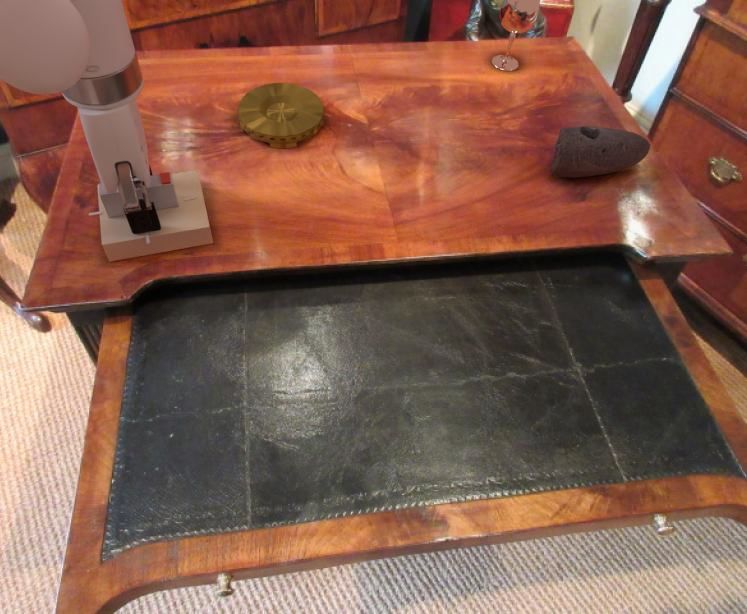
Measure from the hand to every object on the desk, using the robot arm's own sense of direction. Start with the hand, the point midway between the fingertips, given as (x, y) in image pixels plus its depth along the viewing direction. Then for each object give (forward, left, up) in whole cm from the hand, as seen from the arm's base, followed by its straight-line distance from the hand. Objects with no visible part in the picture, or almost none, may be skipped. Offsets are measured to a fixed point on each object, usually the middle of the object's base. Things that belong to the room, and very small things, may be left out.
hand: (143, 205), depth 71 cm
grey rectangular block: (0, 0, 0) cm, 0 cm away
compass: (+20, +16, -3) cm, 26 cm away
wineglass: (+59, +23, -3) cm, 63 cm away
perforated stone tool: (+60, -4, -3) cm, 60 cm away
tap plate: (+1, 0, -3) cm, 3 cm away
